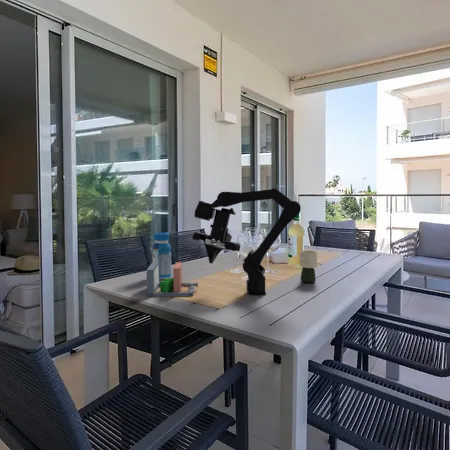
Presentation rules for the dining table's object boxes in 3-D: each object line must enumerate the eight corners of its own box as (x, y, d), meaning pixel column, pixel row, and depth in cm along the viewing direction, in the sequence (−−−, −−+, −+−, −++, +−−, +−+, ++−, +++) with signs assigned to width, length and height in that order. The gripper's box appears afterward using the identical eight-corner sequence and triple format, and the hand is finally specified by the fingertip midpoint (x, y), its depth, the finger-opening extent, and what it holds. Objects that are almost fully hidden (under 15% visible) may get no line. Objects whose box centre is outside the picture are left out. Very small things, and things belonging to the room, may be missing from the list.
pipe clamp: (167, 287, 145) (166, 276, 145) (176, 288, 145) (175, 277, 144) (157, 295, 134) (157, 283, 134) (167, 296, 133) (167, 283, 133)
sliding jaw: (198, 285, 146) (198, 262, 145) (197, 293, 135) (197, 268, 134) (176, 286, 146) (175, 262, 145) (173, 293, 135) (173, 268, 134)
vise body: (194, 285, 148) (194, 261, 147) (192, 295, 133) (192, 269, 132) (152, 285, 147) (151, 261, 146) (145, 296, 132) (145, 269, 131)
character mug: (308, 278, 159) (308, 249, 158) (322, 281, 154) (323, 251, 153) (293, 282, 152) (293, 252, 151) (307, 285, 147) (308, 254, 146)
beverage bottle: (167, 280, 156) (167, 234, 154) (149, 279, 158) (148, 234, 156) (174, 275, 165) (173, 232, 163) (157, 274, 166) (156, 231, 164)
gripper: (250, 230, 140) (240, 269, 141) (210, 220, 149) (201, 256, 150) (238, 229, 131) (228, 270, 131) (196, 217, 139) (186, 256, 140)
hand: (210, 263), depth 138 cm, fingers closed
